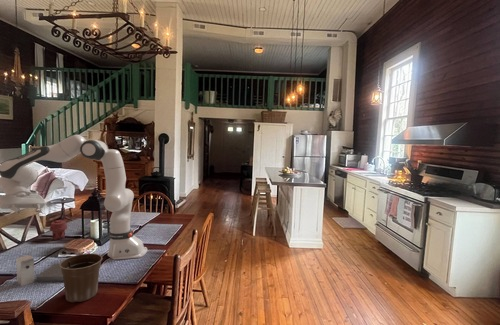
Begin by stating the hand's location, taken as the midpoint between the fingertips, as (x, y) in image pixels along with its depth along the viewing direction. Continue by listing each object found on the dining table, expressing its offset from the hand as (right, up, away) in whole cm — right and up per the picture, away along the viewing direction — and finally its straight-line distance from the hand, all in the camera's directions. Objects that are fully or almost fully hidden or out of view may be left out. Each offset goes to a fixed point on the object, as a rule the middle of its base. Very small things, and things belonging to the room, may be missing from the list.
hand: (28, 211), depth 144 cm
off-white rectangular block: (+8, -32, -11) cm, 35 cm away
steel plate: (+19, -32, -3) cm, 37 cm away
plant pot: (+41, -34, -20) cm, 57 cm away
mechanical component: (-15, -27, +45) cm, 54 cm away
